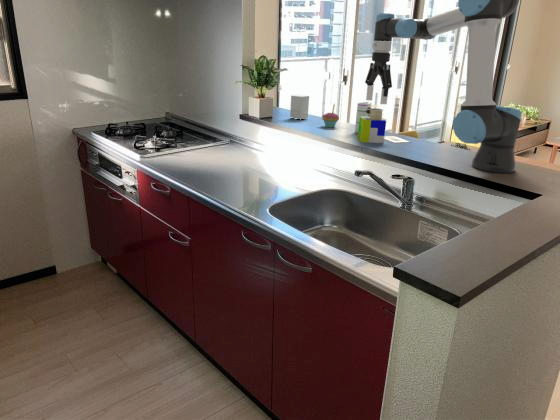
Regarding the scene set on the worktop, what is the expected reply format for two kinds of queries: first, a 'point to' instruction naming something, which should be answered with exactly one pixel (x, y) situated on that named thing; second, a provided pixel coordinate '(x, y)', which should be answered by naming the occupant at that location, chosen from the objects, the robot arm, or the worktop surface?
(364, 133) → the puzzle toy
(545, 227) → the worktop surface
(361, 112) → the syrup box
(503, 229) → the worktop surface
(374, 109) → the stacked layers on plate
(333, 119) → the cupcake
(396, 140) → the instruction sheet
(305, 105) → the supplement box
